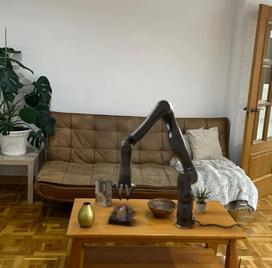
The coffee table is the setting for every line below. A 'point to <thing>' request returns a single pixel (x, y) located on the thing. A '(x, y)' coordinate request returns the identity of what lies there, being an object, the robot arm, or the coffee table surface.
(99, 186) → the coffee box
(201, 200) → the house plant
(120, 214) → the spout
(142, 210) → the coffee table surface
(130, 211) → the button block
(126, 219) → the spout base
